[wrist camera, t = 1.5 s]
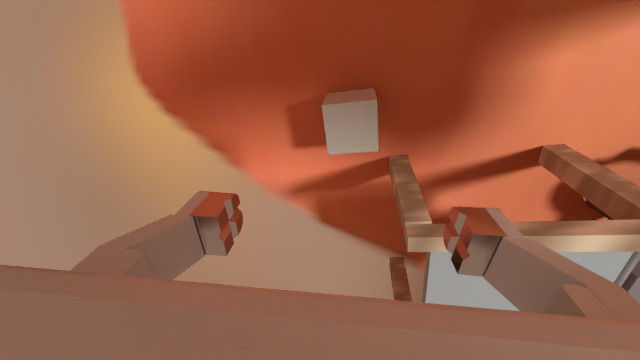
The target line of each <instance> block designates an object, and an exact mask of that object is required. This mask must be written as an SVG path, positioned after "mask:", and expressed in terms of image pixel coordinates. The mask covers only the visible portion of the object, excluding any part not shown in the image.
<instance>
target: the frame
mask: <svg viewBox="0 0 640 360" xmlns="http://www.w3.org/2000/svg"><path fill="white" fill-rule="evenodd" d="M538 163H539V164H540V165H542V166H543V167H544V168H546V169H547V170H548V171H550V172H551V173H552V174H554V175H555V176H556V177H558V178H559V179H560V180H562V181H563V182H564V183H566V184H567V185H568V186H569V187H571V188H572V189H573V190H575V191H576V192H577V193H579V194H580V195H581V196H583V197H584V198H585V199H587V200H588V201H589V202H591V203H592V204H593V205H595V206H596V207H597V208H599V209H600V210H601V211H603V212H604V213H605V214H607V215H608V216H609V217H611V218H612V219H613V220H586V221H538V222H511V223H512V224H513V225H514V226H515V227H516V228H517V230H518V231H519V232H520V233H521V234H522V235H523V236H524V238H530V239H532V240H534V241H536V242H538V243H539V244H541V245H543V246H545V247H547V248H549V249H551V250H553V251H555V252H640V187H639V186H637V185H635V184H633V183H632V182H630V181H628V180H626V179H625V178H623V177H621V176H619V175H617V174H616V173H614V172H612V171H610V170H609V169H607V168H605V167H603V166H602V165H600V164H598V163H596V162H595V161H593V160H591V159H589V158H587V157H586V156H584V155H582V154H580V153H579V152H577V151H575V150H573V149H572V148H570V147H568V146H566V145H565V144H562V145H548V146H543V147H542V150H541V153H540V156H539V159H538ZM389 171H390V176H391V181H392V185H393V190H394V195H395V199H396V204H397V209H398V213H399V218H400V223H401V227H402V232H403V237H404V241H405V243H406V248H407V252H449V251H447V250H446V247H445V245H444V241H443V231H444V228H445V225H446V224H447V223H443V224H432V220H431V217H430V215H429V212H428V209H427V207H426V204H425V201H424V199H423V196H422V194H421V191H420V188H419V186H418V183H417V180H416V178H415V175H414V172H413V170H412V167H411V165H410V162H409V159H408V157H407V155H401V156H389ZM390 272H391V280H392V288H393V295H394V300H400V301H411V302H412V299H411V294H410V289H409V283H408V279H407V273H406V268H405V263H404V258H390Z"/></svg>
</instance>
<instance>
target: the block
mask: <svg viewBox="0 0 640 360" xmlns="http://www.w3.org/2000/svg"><path fill="white" fill-rule="evenodd" d="M322 112H323V120H324V127H325V135H326V142H327V150H328V155H332V154H346V153H359V152H373V151H379V147H378V108H377V96H376V92H375V89H374V88H370V89H361V90H352V91H344V92H335V93H327V95H326V97H325V99H324V101H323V103H322Z"/></svg>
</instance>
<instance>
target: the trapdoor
mask: <svg viewBox="0 0 640 360" xmlns="http://www.w3.org/2000/svg"><path fill="white" fill-rule="evenodd" d="M556 253H558V254H560V255H562V256H564V257H566V258H568V259H570V260H571V261H573V262H575V263H577V264H579V265H581V266H583V267H585V268H587V269H588V270H590V271H592V272H594V273H596V274H598V275H600V276H602V277H603V278H605V279H607V280H609V281H611V282H613V283H615V284H617V285H619V286H620V287H622V288H623V289H624V290H626V291H627V292H628V293H629V294H630V295H631V296H632V297H633V298H634V299H635V300H636V301H637V302H638V303H639V304H640V252H556ZM451 257H452V254H451V253H450V252H427V258H426V268H425V278H424V288H423V299H422V303H433V304H444V305H455V306H465V307H477V308H488V309H500V310H512V311H519V310H518V309H517V308H516V307H515V306H514V305H513V304H512V303H511V302H509V301H508V300H507V299H506V298H505V297H504V296H503V295H502V294H501V293H499V292H498V291H497V290H496V289H495V288H494V287H493V286H492V285H491V284H489V283H488V282H487V281H486V280H485V279H484V277H480V276H470V275H461V274H457V272H456V270H455V267H454V265H453V263H452V261H451Z"/></svg>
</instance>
